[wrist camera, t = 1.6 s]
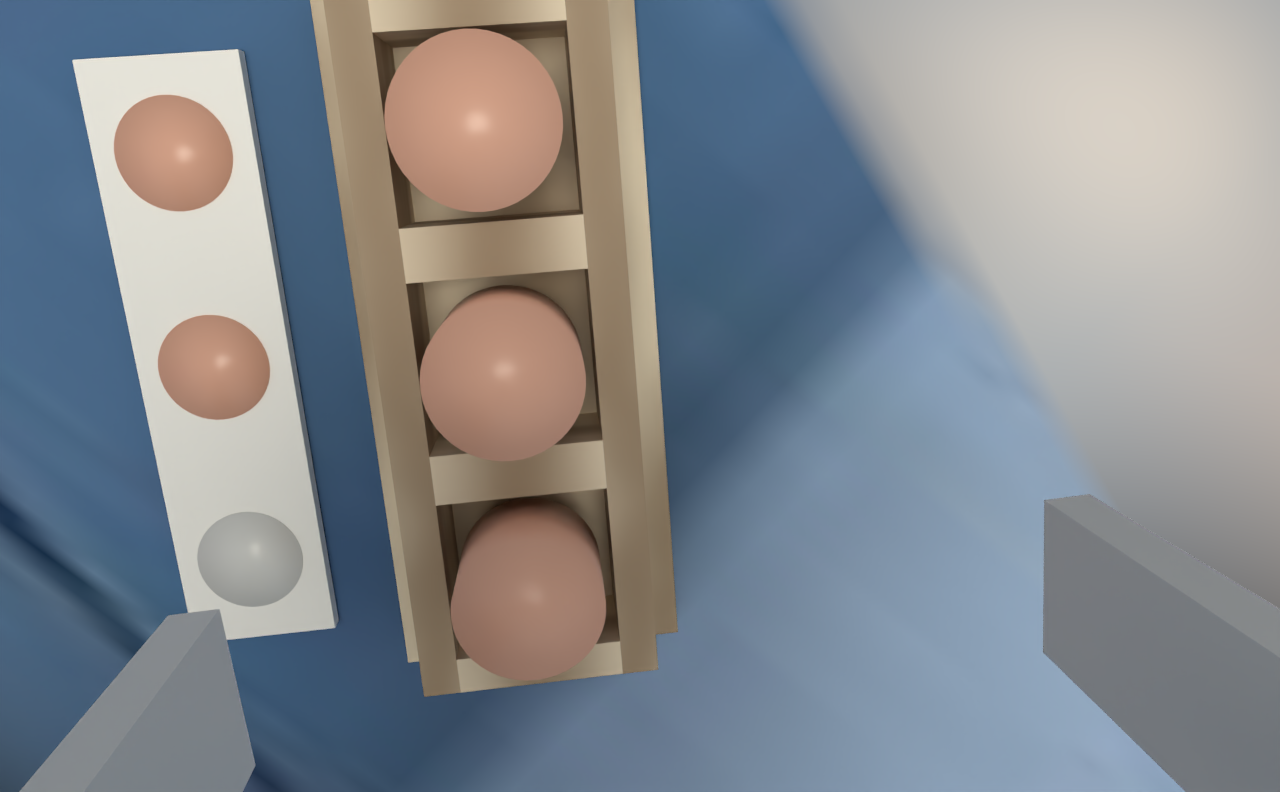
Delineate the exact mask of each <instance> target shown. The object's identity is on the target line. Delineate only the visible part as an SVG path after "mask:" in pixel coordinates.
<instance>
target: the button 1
mask: <svg viewBox="0 0 1280 792" xmlns="http://www.w3.org/2000/svg"><path fill="white" fill-rule="evenodd" d="M384 118H385V130H386V135H387V140H388V143H389V146H390V149H391V152H392V154H393V156H394V158H395V161H396V163H397V164H398V166H399V167H400V169H401V171H402V172H403V174H404V175H405V176H406V177H407V178H408V180H409V181H410V182H411V183H412V184H413V185H414V186H415V187H416V188H417V189H418V190H419V191H421V192H422V193H423V194H425V195H426V196H428V197H429V198H431V199H432V200H434V201H436V202H438V203H440V204H442V205H445V206H447V207H450V208H453V209H457V210H461V211H469V212H487V211H494V210H498V209H502V208H505V207H508V206H510V205H513V204H515V203H517V202H519V201H520V200H522V199H524V198H525V197H527V196H528V195H529V194H531V193H532V192H533V191H534V190H535V189H536V188H537V187H538V186H539V185H540V184H541V183H542V182H543V181H544V179H545V178H546V177H547V175H548V174H549V172H550V171H551V169H552V167H553V165H554V163H555V161H556V158H557V155H558V153H559V149H560V145H561V141H562V132H563V115H562V109H561V103H560V100H559V96H558V93H557V90H556V88H555V85H554V83H553V81H552V79H551V77H550V76H549V74H548V72H547V71H546V69H545V68H544V67H543V65H542V64H541V63H540V61H539V60H538V59H537V58H536V57H535V56H534V55H533V54H532V53H531V52H530V51H528V50H527V49H526V48H525V47H523V46H522V45H521V44H519V43H517V42H516V41H514V40H512V39H511V38H508V37H506V36H504V35H501V34H499V33H495V32H492V31H488V30H482V29H457V30H451V31H448V32H444V33H441V34H438V35H436V36H434V37H432V38H430V39H428V40H426V41H425V42H423V43H421V44H420V45H419V46H418V47H416V48H415V49H414V50H413V51H412V52H411V53H410V54H409V55H408V56H407V57H406V58H405V59H404V60H403V62H402V63H401V65H400V66H399V68H398V69H397V70H396V72H395V75H394V77H393V79H392V81H391V83H390V86H389V89H388V92H387V97H386V102H385V115H384Z"/></svg>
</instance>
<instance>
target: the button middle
mask: <svg viewBox="0 0 1280 792" xmlns="http://www.w3.org/2000/svg"><path fill="white" fill-rule="evenodd" d="M585 390H586V374H585V367H584V362H583V356H582V351H581V345H580V341H579V337H578V334H577V331H576V329H575V327H574V325H573V323H572V321H571V320H570V318H569V317H568V315H567V314H566V313H565V312H564V310H563V309H562V308H561V307H560V306H559V305H558V304H557V303H555V302H554V301H553V300H551V299H550V298H549V297H547V296H545V295H543V294H542V293H540V292H538V291H535V290H532V289H530V288H526V287H522V286H514V285H499V286H493V287H488V288H485V289H482V290H479V291H477V292H475V293H472V294H471V295H469V296H468V297H466V298H464V299H463V300H462V301H461V302H459V303H458V304H457V305H456V306H455V307H454V308H453V309H452V310H451V311H450V313H449V314H448V315H447V317H446V318H445V320H444V321H443V323H442V324H441V326H440V327H439V329H438V330H437V331H436V333H435V334H434V336H433V337H432V339H431V341H430V343H429V344H428V346H427V348H426V351H425V354H424V356H423V359H422V364H421V369H420V391H421V396H422V401H423V404H424V407H425V409H426V412H427V414H428V416H429V418H430V420H431V421H432V423H433V424H434V426H435V427H436V429H437V430H438V431H439V432H440V433H441V434H442V435H443V437H444V438H446V439H447V440H448V441H449V442H450V443H451V444H453V445H454V446H456V447H457V448H459V449H460V450H462V451H464V452H466V453H468V454H470V455H473V456H476V457H479V458H482V459H487V460H492V461H515V460H521V459H525V458H529V457H532V456H535V455H537V454H539V453H542V452H544V451H545V450H547V449H549V448H550V447H552V446H553V445H554V444H556V443H557V442H558V441H560V440H561V439H562V438H563V437H564V436H565V434H566V433H567V432H568V431H569V430H570V428H571V427H572V426H573V424H574V423H575V421H576V419H577V417H578V415H579V413H580V410H581V408H582V405H583V401H584V397H585Z"/></svg>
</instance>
